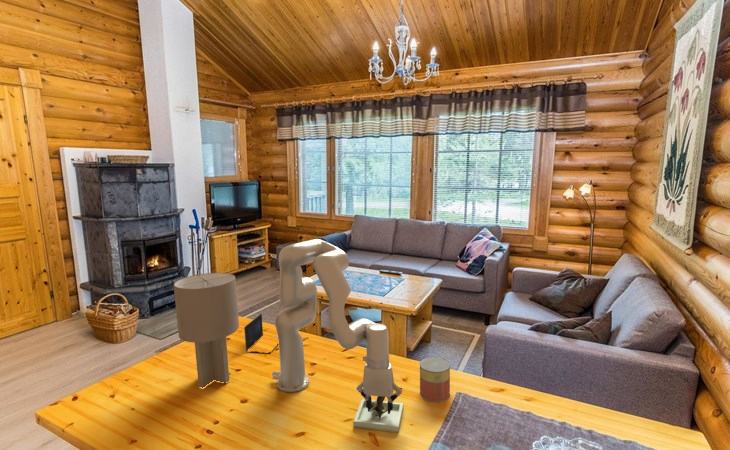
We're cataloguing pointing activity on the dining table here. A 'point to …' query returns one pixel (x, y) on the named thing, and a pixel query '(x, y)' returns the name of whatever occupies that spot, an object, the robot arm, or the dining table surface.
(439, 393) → the canned food
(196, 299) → the lamp
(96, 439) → the dining table surface
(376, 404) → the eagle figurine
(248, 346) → the laptop
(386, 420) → the tray
